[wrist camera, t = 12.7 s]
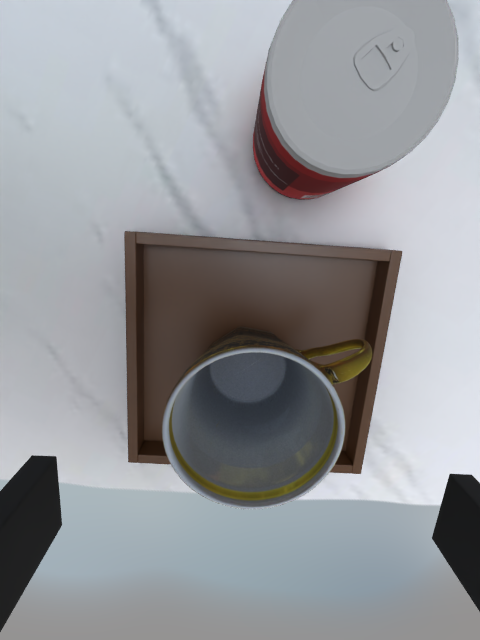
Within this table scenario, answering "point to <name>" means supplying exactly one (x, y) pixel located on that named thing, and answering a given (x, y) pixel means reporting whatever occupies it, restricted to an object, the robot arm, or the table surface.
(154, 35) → the table surface
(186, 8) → the table surface
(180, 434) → the ceramic cup
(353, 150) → the canned food
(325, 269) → the tray
